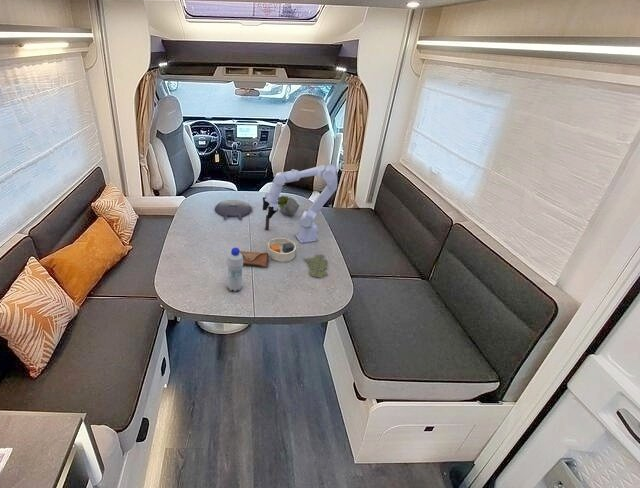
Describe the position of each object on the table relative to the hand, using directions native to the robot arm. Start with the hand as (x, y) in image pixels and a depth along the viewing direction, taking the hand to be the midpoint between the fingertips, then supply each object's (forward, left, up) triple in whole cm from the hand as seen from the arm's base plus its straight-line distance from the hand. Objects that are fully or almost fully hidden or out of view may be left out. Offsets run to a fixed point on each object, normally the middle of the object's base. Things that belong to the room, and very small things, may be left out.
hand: (266, 213), depth 174 cm
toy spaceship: (+11, -29, -11) cm, 33 cm away
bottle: (+29, +41, -11) cm, 52 cm away
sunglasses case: (+17, +25, -11) cm, 33 cm away
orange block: (+3, +23, -11) cm, 25 cm away
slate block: (-4, +23, -11) cm, 25 cm away
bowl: (0, +23, -11) cm, 25 cm away
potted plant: (-21, -18, -12) cm, 30 cm away
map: (-13, +36, -11) cm, 39 cm away
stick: (-2, -2, -11) cm, 12 cm away
